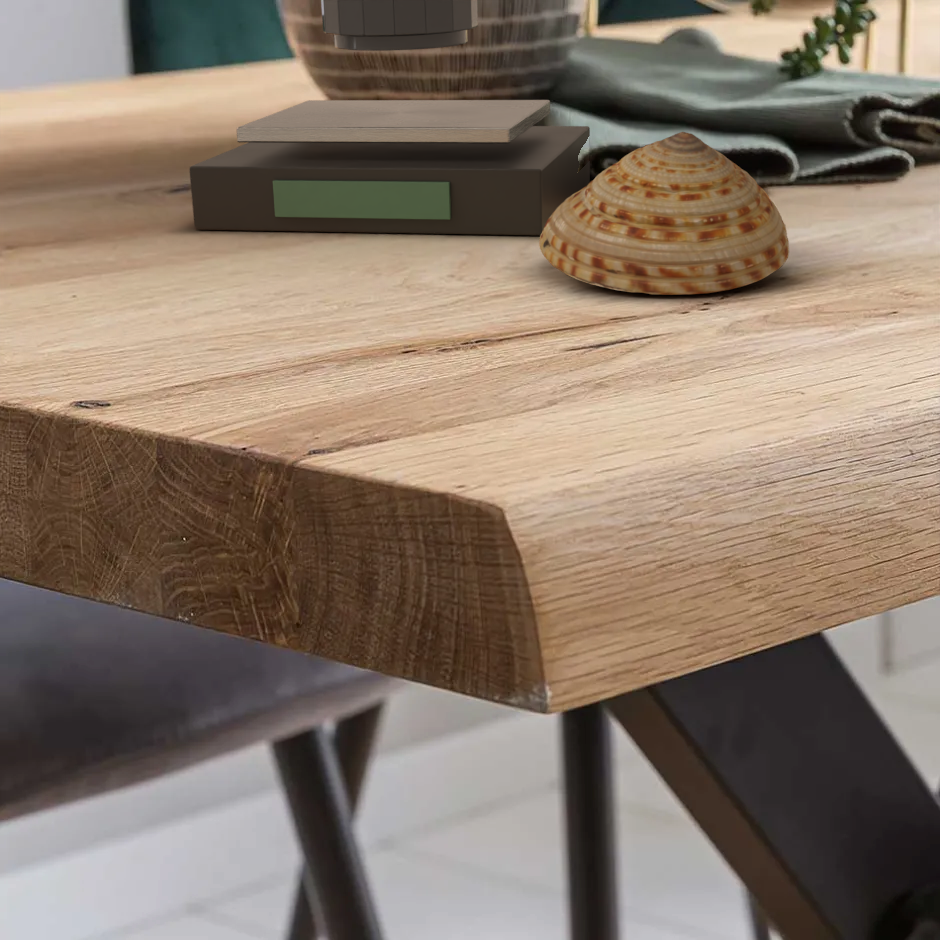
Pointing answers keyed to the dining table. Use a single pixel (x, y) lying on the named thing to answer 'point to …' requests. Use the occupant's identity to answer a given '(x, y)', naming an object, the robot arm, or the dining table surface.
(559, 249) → the seashell
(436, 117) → the scale pan
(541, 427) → the dining table surface
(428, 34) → the grey faceted cup
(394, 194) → the scale
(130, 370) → the dining table surface
